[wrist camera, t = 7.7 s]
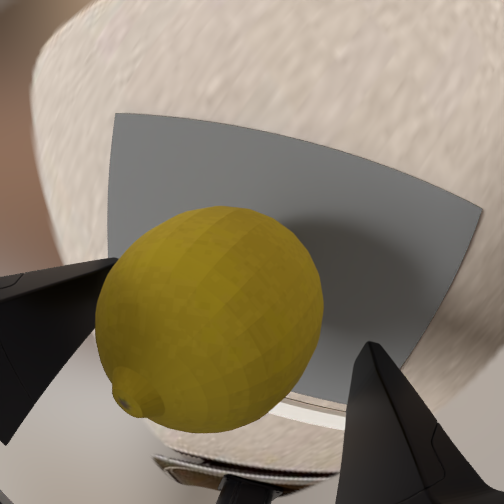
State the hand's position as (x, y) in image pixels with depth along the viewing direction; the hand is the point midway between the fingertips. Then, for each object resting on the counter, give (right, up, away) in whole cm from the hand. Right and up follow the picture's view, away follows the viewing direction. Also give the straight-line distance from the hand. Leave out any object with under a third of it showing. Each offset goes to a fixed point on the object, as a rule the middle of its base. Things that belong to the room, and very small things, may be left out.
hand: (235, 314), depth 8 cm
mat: (+1, +1, +4) cm, 4 cm away
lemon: (+1, +1, +3) cm, 4 cm away
